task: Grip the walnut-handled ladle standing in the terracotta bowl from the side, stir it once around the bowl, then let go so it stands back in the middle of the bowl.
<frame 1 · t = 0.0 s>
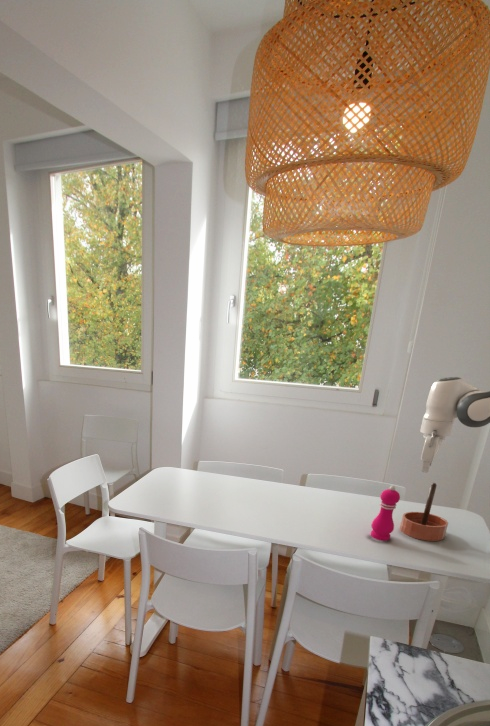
hand: (426, 468, 159), 26 cm above the table, tool pointing down, fingers open, 8 cm apart
pepper mill: (379, 537, 169), on the table
bowl: (421, 534, 172), on the table
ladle: (421, 532, 172), point 1 cm above the table, touching bowl
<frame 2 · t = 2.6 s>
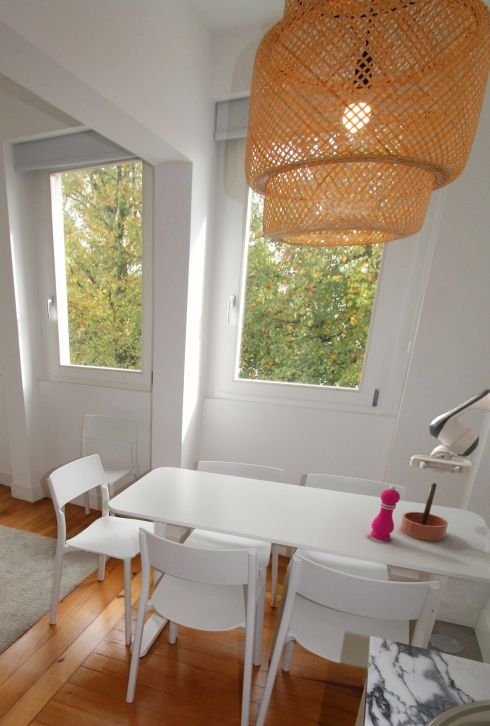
hand: (438, 469, 173), 22 cm above the table, tool horizontal, fingers open, 8 cm apart
nothing on the table moved.
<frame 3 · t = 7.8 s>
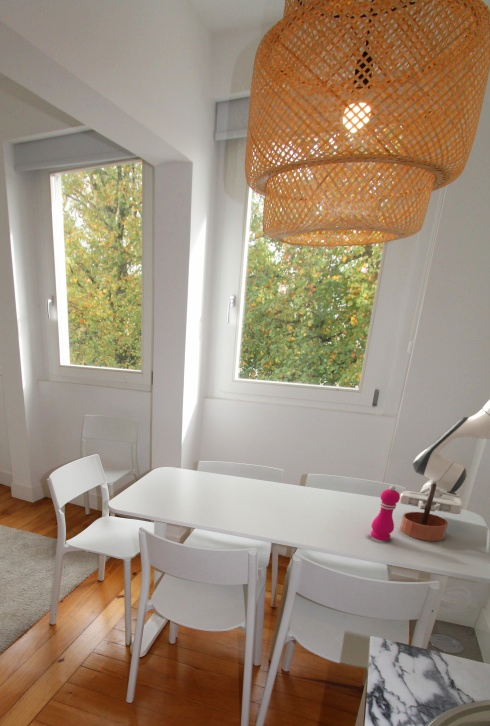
hand: (427, 508, 168), 11 cm above the table, tool horizontal, fingers closed on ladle, 2 cm apart
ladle: (421, 532, 172), point 1 cm above the table, touching bowl, gripper
everything else where it was.
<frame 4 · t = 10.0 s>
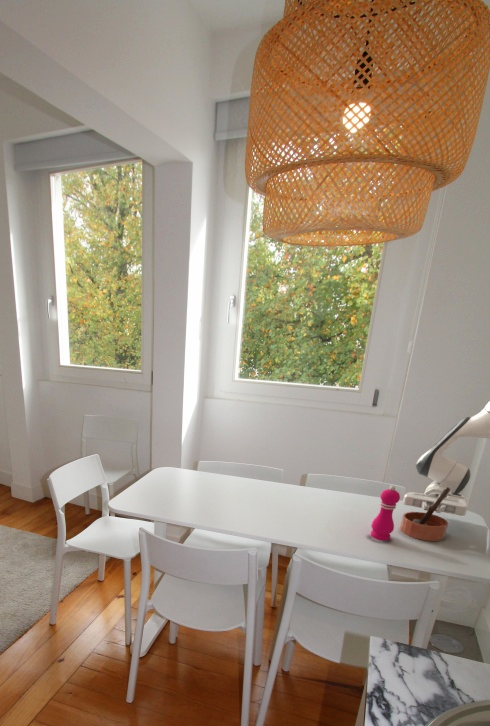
hand: (432, 509, 166), 11 cm above the table, tool horizontal, fingers closed on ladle, 2 cm apart
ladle: (417, 528, 173), point 2 cm above the table, tilted 21°, touching gripper
everything else where it was.
when the fingers open (11 cm above the table, at t = 12.6 s): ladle stays where it is, resting on bowl.
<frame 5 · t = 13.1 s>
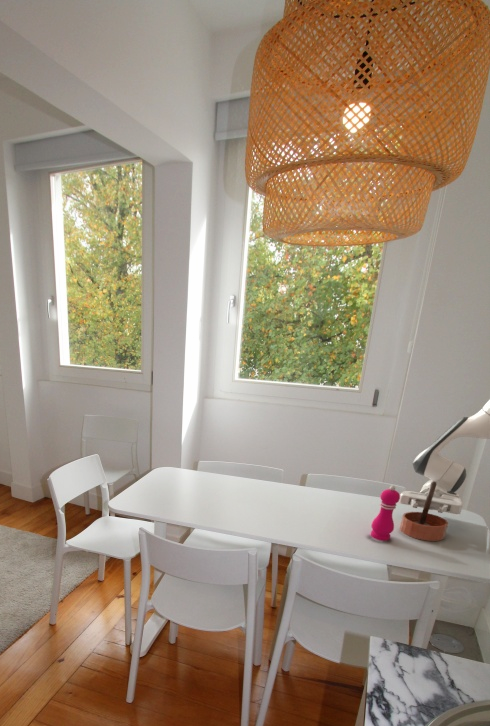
hand: (427, 508, 168), 11 cm above the table, tool horizontal, fingers open, 7 cm apart
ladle: (419, 530, 174), point 1 cm above the table, touching bowl
everything else where it was.
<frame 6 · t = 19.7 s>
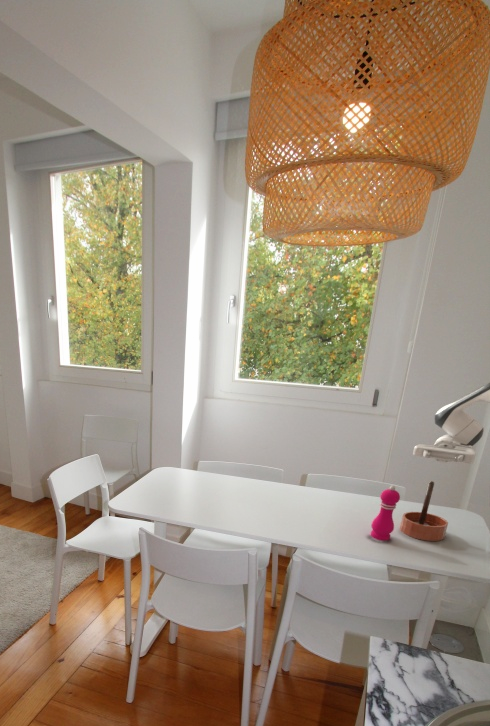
hand: (441, 457, 174), 26 cm above the table, tool horizontal, fingers open, 8 cm apart
nothing on the table moved.
at the end: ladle inside the target area in the bowl (1.9 cm from its centre), point 0.6 cm above the bowl's base; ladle tilted 0°; the gripper is holding nothing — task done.
